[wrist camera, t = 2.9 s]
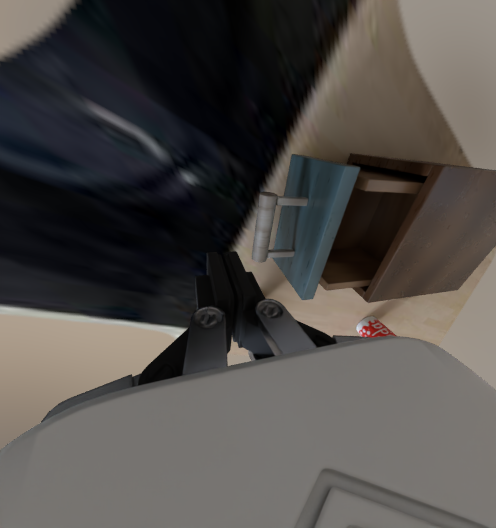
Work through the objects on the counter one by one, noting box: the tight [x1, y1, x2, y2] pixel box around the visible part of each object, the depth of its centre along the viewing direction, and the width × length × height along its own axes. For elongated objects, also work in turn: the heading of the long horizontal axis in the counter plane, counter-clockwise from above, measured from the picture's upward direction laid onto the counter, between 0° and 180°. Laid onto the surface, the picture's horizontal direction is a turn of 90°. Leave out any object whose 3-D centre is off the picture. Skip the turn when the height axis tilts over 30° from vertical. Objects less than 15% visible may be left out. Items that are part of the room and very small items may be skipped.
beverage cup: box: [356, 316, 396, 338], centre depth 37 cm, size 6×6×14 cm
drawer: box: [252, 154, 427, 300], centre depth 20 cm, size 17×11×8 cm
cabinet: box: [347, 153, 496, 303], centre depth 23 cm, size 14×13×10 cm
